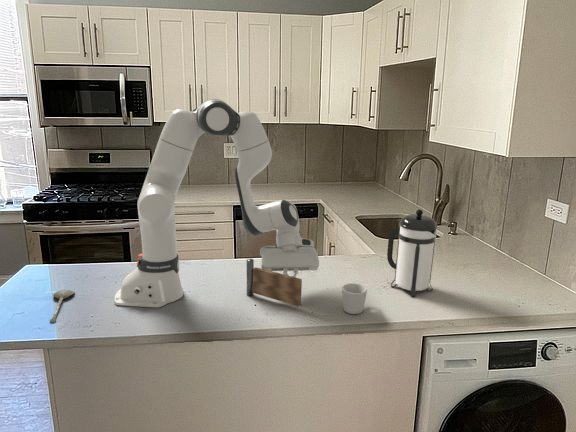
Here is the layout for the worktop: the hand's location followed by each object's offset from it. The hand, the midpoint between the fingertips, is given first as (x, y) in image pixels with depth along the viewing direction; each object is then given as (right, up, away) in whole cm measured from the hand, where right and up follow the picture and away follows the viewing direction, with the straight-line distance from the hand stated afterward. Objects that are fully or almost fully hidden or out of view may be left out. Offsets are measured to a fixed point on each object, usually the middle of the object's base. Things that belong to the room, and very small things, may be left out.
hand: (291, 281), depth 149 cm
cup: (+21, -8, -6) cm, 23 cm away
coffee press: (+43, -4, +12) cm, 45 cm away
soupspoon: (-75, -7, -8) cm, 76 cm away
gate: (-5, -5, -3) cm, 8 cm away
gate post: (-14, -5, +3) cm, 15 cm away
